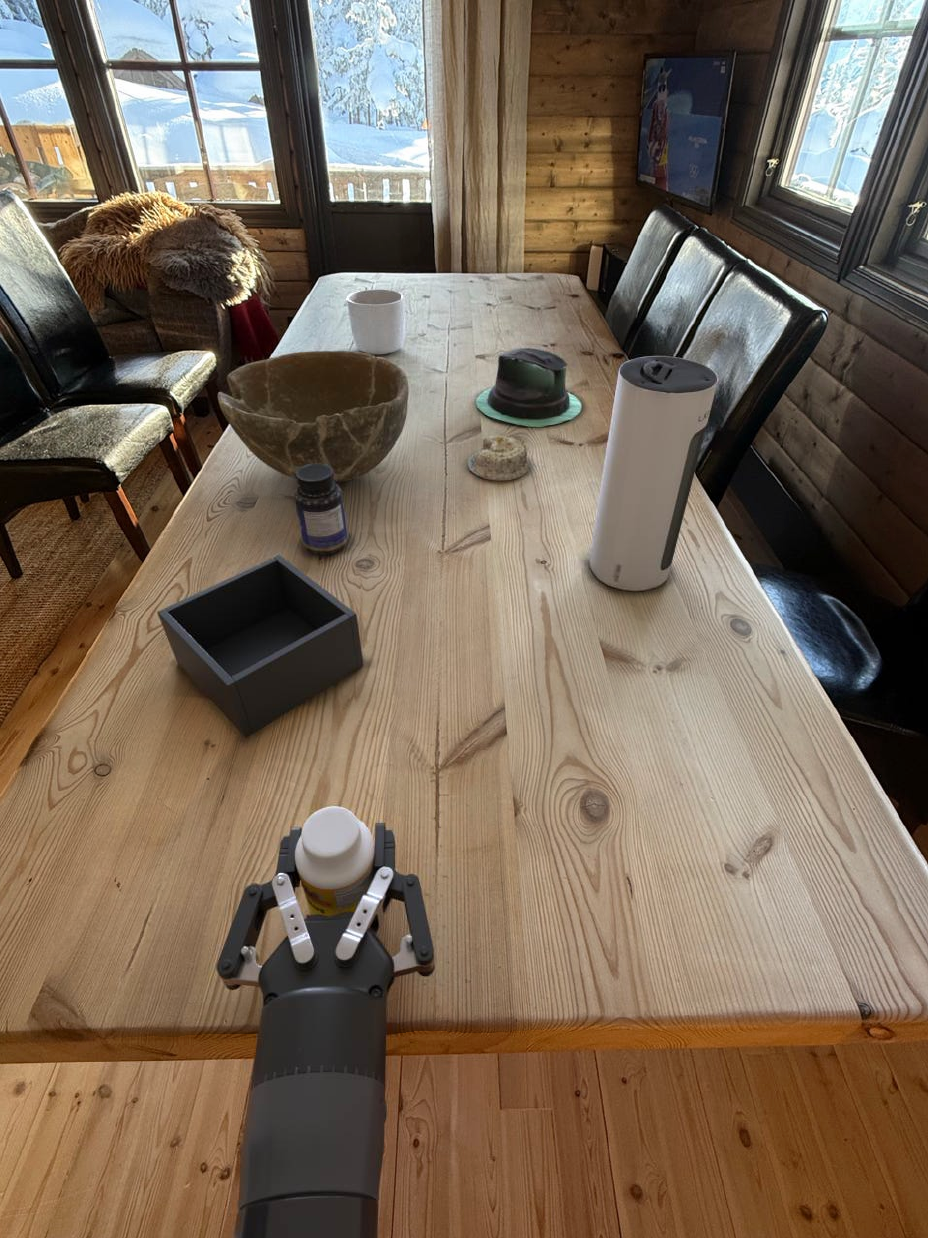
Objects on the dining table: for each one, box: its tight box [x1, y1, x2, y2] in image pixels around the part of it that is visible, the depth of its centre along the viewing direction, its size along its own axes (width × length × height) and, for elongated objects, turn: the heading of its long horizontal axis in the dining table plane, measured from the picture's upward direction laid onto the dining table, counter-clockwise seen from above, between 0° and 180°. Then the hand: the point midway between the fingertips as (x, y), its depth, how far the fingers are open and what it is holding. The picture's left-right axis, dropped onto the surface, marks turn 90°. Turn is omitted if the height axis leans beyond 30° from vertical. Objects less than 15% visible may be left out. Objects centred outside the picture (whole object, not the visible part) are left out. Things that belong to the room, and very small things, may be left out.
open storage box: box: [156, 554, 365, 739], centre depth 70 cm, size 15×15×8 cm
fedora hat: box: [475, 347, 582, 428], centre depth 124 cm, size 15×19×20 cm
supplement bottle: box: [295, 805, 375, 916], centre depth 48 cm, size 6×6×10 cm
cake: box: [467, 434, 530, 482], centre depth 105 cm, size 10×10×5 cm
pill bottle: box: [293, 463, 349, 556], centre depth 86 cm, size 6×6×11 cm
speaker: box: [588, 355, 719, 592], centre depth 77 cm, size 11×10×26 cm
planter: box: [346, 288, 406, 355], centre depth 145 cm, size 12×12×11 cm
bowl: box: [217, 350, 410, 484], centre depth 100 cm, size 28×27×15 cm
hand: (339, 831), depth 50 cm, fingers closed on supplement bottle, 5 cm apart
